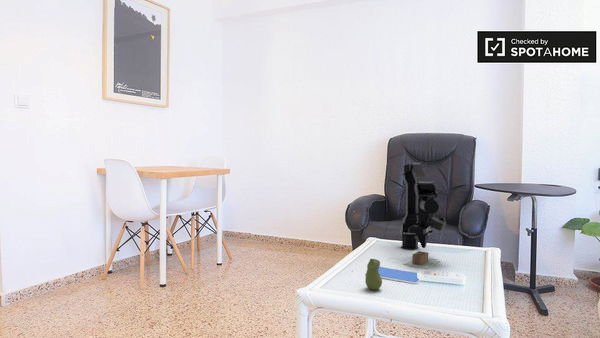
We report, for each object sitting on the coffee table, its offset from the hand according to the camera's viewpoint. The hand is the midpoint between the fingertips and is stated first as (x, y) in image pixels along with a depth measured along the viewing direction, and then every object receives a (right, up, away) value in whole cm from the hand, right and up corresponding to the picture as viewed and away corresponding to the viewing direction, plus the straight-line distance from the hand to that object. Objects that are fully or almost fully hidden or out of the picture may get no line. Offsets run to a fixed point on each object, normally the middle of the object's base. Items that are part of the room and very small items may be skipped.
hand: (423, 247), depth 165 cm
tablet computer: (-16, -7, -19) cm, 26 cm away
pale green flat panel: (-1, -6, -1) cm, 6 cm away
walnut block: (0, -4, 0) cm, 4 cm away
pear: (-27, -7, -34) cm, 44 cm away
